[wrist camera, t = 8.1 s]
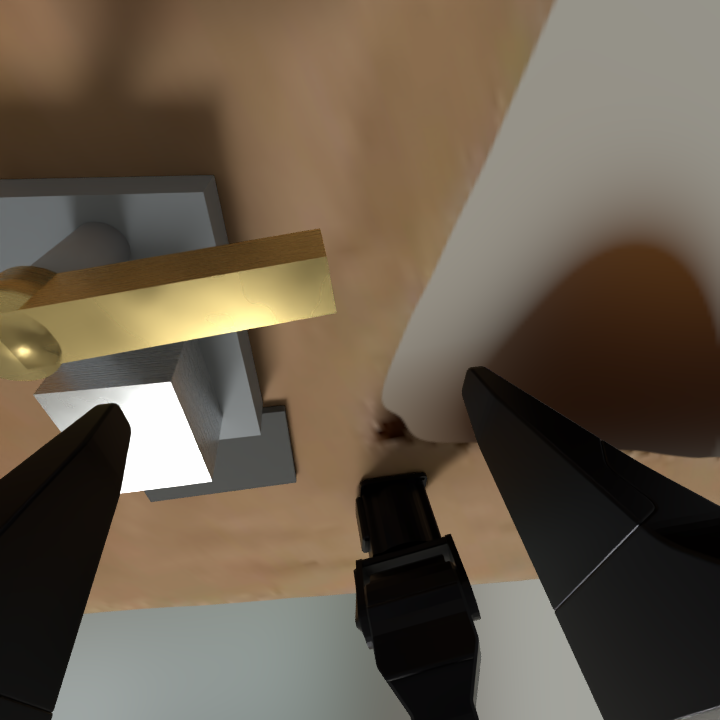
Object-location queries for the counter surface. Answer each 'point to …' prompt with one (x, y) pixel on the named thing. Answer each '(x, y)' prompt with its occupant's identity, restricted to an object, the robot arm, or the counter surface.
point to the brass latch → (158, 301)
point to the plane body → (132, 253)
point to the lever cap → (147, 409)
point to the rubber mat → (245, 461)
